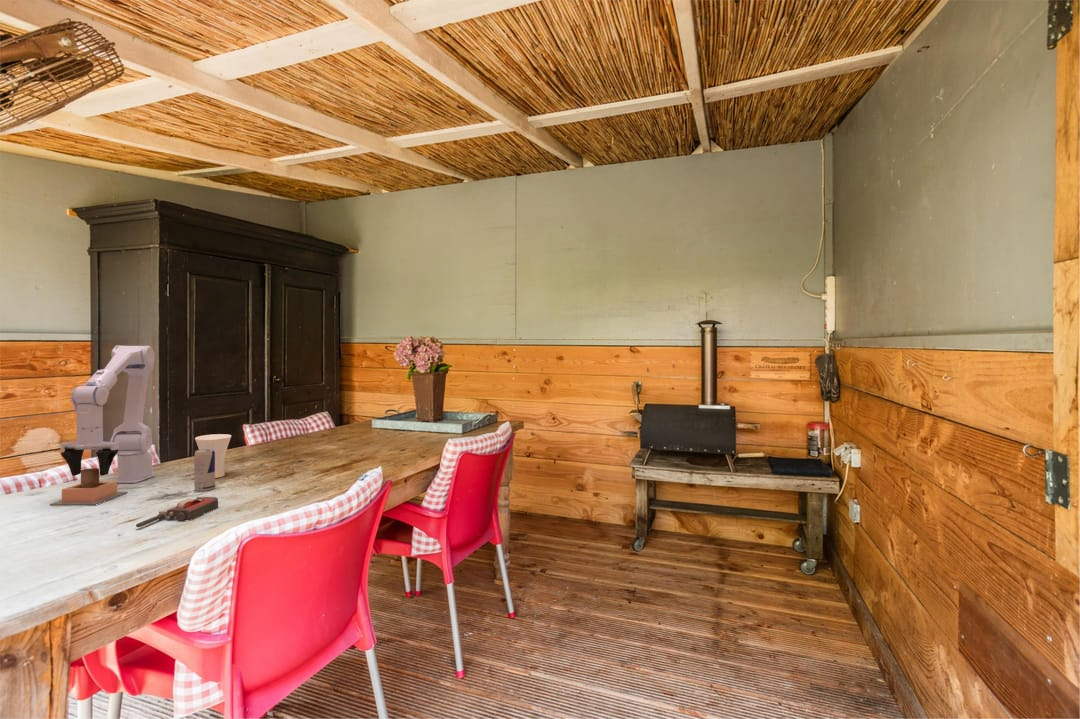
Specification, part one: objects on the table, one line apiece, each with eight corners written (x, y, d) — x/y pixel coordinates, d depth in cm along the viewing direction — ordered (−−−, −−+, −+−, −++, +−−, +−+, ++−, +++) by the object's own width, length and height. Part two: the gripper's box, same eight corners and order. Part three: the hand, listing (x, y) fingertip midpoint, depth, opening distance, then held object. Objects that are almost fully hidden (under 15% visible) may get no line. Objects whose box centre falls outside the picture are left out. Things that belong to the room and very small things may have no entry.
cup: (205, 472, 181) (205, 434, 181) (237, 472, 182) (237, 434, 182) (188, 480, 171) (188, 439, 170) (222, 480, 172) (222, 439, 171)
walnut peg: (88, 495, 151) (88, 468, 151) (103, 495, 151) (102, 468, 151) (77, 499, 147) (76, 471, 147) (91, 499, 147) (91, 471, 147)
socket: (85, 493, 155) (85, 480, 154) (127, 493, 155) (127, 479, 155) (49, 505, 143) (49, 491, 143) (96, 505, 143) (95, 491, 143)
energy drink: (219, 487, 163) (219, 449, 163) (206, 492, 158) (206, 452, 158) (203, 486, 164) (203, 448, 163) (190, 491, 158) (190, 452, 158)
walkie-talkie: (193, 506, 145) (132, 531, 125) (193, 490, 145) (132, 513, 125) (223, 507, 145) (167, 532, 125) (223, 491, 145) (167, 514, 125)
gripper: (50, 429, 144) (51, 478, 144) (105, 430, 145) (106, 478, 145) (71, 425, 151) (72, 472, 151) (124, 426, 152) (124, 472, 152)
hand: (90, 474), depth 149 cm, fingers open, 7 cm apart
